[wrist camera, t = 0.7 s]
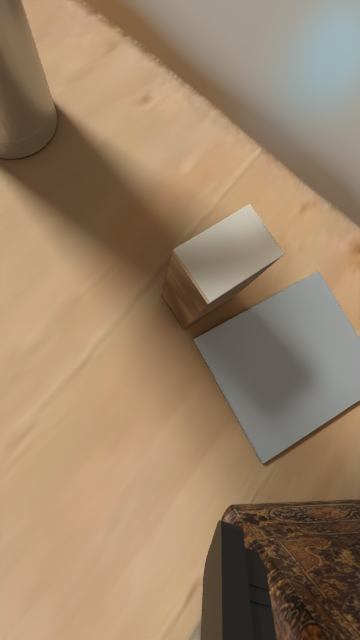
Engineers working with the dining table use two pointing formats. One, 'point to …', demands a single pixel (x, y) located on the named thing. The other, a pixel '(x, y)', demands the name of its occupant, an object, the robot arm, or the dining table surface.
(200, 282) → the brown rectangular block
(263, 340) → the felt mat
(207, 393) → the dining table surface
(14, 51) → the robot arm
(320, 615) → the book
